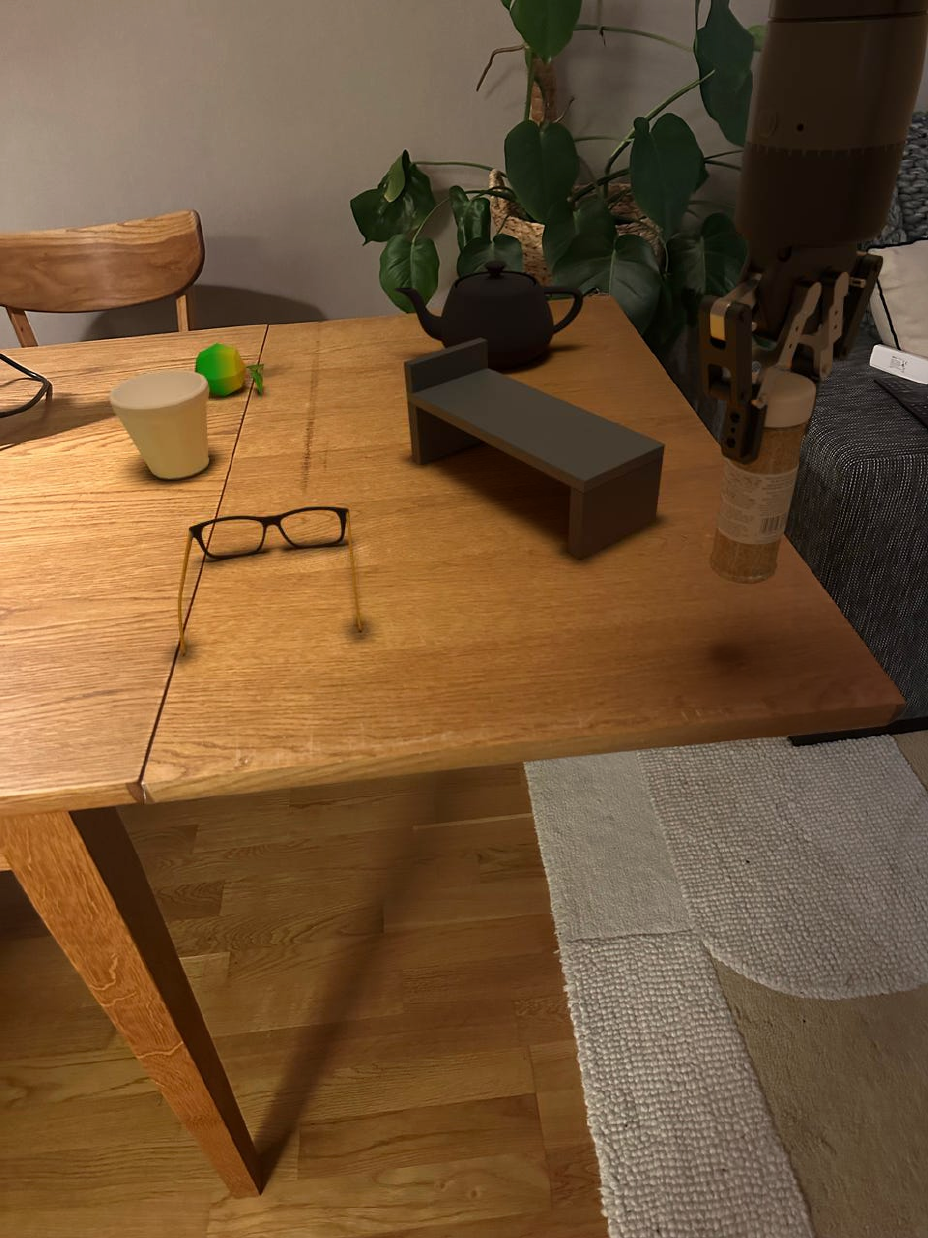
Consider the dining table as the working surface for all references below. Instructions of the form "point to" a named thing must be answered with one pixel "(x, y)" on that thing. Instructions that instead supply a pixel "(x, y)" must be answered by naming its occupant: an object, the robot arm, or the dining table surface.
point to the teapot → (497, 314)
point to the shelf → (536, 440)
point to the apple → (225, 369)
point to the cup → (166, 420)
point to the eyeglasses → (265, 521)
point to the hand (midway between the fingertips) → (765, 444)
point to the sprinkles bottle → (762, 487)
